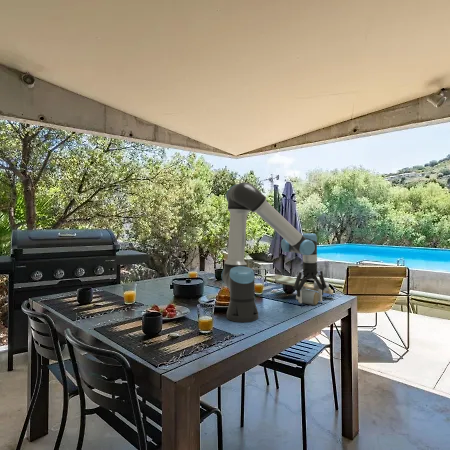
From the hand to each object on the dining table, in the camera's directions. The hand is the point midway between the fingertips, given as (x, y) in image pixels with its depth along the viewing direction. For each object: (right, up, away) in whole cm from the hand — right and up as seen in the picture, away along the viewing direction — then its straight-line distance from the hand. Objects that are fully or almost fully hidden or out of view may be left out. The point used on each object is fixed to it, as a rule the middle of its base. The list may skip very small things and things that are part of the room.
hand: (310, 301), depth 180 cm
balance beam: (0, +5, +14) cm, 15 cm away
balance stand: (0, -1, +14) cm, 14 cm away
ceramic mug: (0, -1, +1) cm, 1 cm away
